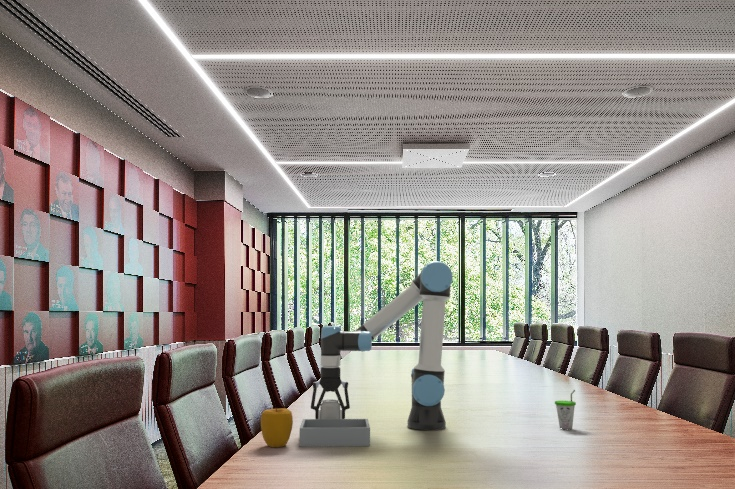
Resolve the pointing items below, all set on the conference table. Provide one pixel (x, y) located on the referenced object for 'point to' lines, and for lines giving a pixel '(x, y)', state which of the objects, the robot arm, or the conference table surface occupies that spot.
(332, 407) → the can
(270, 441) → the apple
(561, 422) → the cup
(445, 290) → the robot arm
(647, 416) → the conference table surface
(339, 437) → the walled box
